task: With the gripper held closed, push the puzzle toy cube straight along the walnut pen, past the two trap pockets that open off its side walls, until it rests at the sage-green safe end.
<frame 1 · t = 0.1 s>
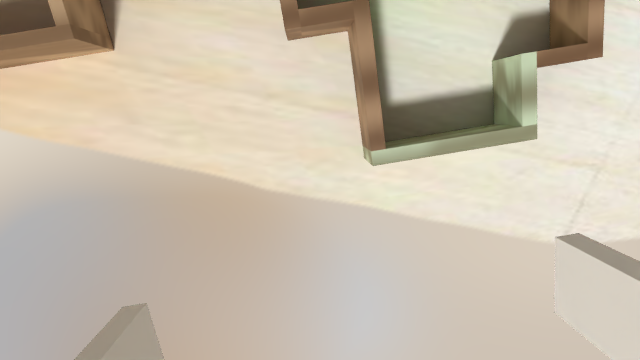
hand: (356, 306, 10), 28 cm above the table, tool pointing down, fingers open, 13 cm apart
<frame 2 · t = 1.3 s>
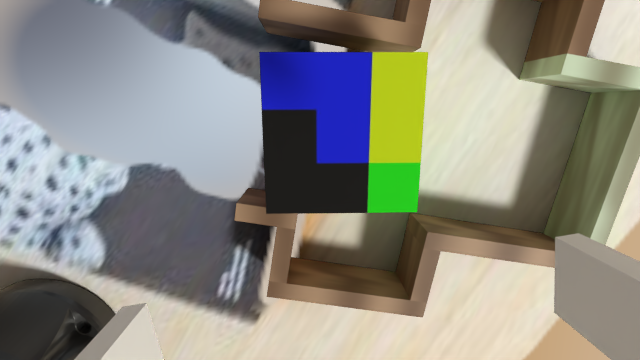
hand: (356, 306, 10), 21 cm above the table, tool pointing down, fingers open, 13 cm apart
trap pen: (416, 141, 30), on the table
puzzle toy: (332, 126, 30), on the table
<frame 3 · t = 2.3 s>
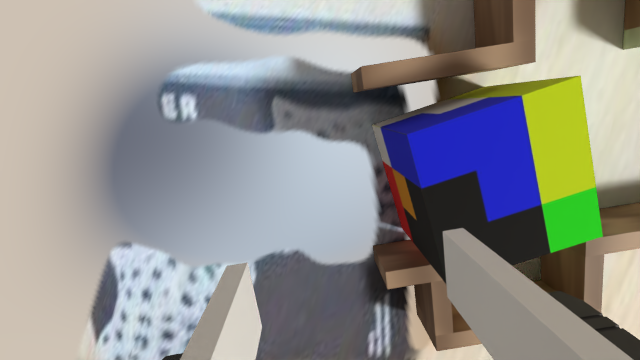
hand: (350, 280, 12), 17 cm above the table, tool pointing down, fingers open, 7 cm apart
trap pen: (530, 146, 29), on the table
puzzle toy: (439, 160, 29), on the table
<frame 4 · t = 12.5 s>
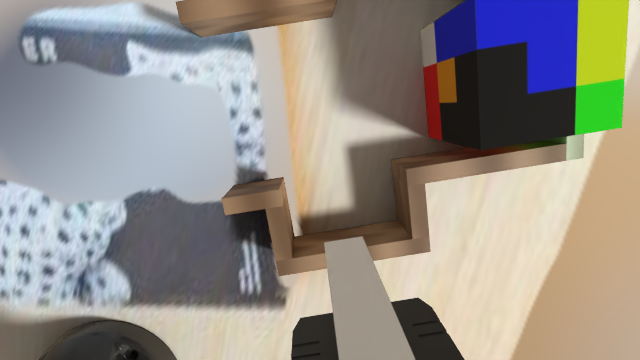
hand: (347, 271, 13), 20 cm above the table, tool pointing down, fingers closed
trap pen: (373, 90, 31), on the table
puzzle toy: (474, 77, 31), on the table
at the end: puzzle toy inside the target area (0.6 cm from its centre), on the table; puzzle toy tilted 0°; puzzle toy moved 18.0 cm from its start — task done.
